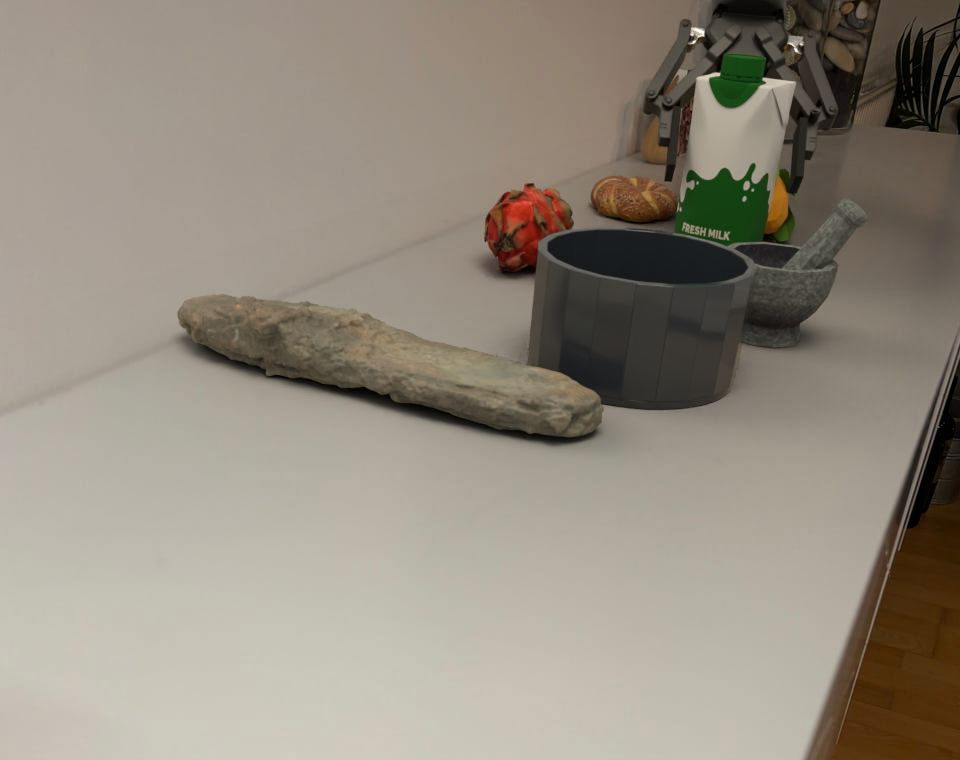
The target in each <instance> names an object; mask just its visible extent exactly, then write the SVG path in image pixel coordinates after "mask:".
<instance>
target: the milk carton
mask: <svg viewBox="0 0 960 760" xmlns="http://www.w3.org/2000/svg"><path fill="white" fill-rule="evenodd" d="M765 64H766V58H765V57H761V56H755V55H747V54H732V53H729V54H724V55H723V60H722V66H721V71H720V73H712V74H709V75H705V76H700V77H697V78H696V87H695V96H694V97H693V104H692V113H691V121H690V127H689V133H688V139H687V146H686V151H685V157H684V158H685V159H684V165H683V171H682V178H681V184H680V191H679V196H678V209H677V211H676V216H675V223H674V230H673V231H674V232H673V233H677V234H683V235H688V236H692V237H696V238H701V239H705V240H709V241H713V242H716V243H719V244H722V245H725V246H729V245H731V244H733V243H745V242H763V239H764V235H765V234H764V232H765V228H766V224H767V220H768V215H769V211H770V206H771V201H772V196H773V191H774V187H775V182H776V177H777V172H778V168H779V167H780V161H781V157H782V152H783V147H784V142H785V135H786V129H787V126H788V124H789V119H790V118H789V117H790V114H789V112H790V108H791V103H792V99H793V94H794V90H795V86H796V82H793V81H785V80H778V79H770V78H763V76H764V70H765Z"/></svg>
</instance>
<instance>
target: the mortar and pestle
mask: <svg viewBox="0 0 960 760" xmlns="http://www.w3.org/2000/svg"><path fill="white" fill-rule="evenodd" d="M867 221H868V216H867V214H866V212H865V211H864V209H863V208H862V207H861V206H860V205H859V204H858V203H856V202H854V201H852V200H851V199H849V198H842V199H841V200H840V201H839V202H838V203H837V204H836V207H835V211H834V212H833V213H832V214H831V215H830V216H829V217H828V218H827V219H826V221H825V222H824V223H823V224H822V225H821V226H820V227H819V228H818V229H817V230H816V232H814V233H813V235H812V236H811V237H809V239H808V240H807V241H806V242H805V243H804V244H803V245H802V246H798V245H792V244H785V243H775V242H768V241H762V242H745V243H733V244H731V245H729V246H727V247H730V248H733V249H736V250H738V251H739V252H741V253H743V254H744V255H746V256H748V257H749V258H751V259H752V260H753V261H754V263H755V265H756V267H757V268H758V270H757V275H756V280H755V285H754V289H753V294H752V299H751V304H750V309H749V314H748V319H747V323H746V328H745V333H744V338H743V343H746V344H748V345H750V346H751V345H752V346H757V347H765V348H773V349H777V348H786V347H787V348H788V347H793V346H794V345H795V344H797V342H799V340H800V335H801V324H802V323H803V322H805V321H806V320H808V319H809V318H810V317H811V316H813V315H814V314H815V313H816V312H817V311H818V310H819V309H820V308H821V306H822V305H823V304H824V302H826V300H827V299H828V298H829V295H830V292H831V290H832V288H833V285H834V283H835V280H836V276H837V274H838V273H837V272H838V269H839V265H840V263H838V262H837V261H836V260H835V259H834V258H835V257H836V256H837V254H838V253H839V252H840V251H841V250H842V248H843V247H844V245H846V243H847V241H849V239H850V238H851V236H852V235H853V234H854V232H855V231H856V230H857V229H859V228H862V227H863V226H865V224H866V223H867Z"/></svg>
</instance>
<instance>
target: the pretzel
mask: <svg viewBox="0 0 960 760" xmlns="http://www.w3.org/2000/svg"><path fill="white" fill-rule="evenodd" d="M590 202H591V204H592V207H594V208H596V209H597V208H598V209H597V211H598V212H599V213H601V214H603V215H604V216H607V217H610V218H617V219H618V218H619V219H622V220H623V221H626V222H635V223H645V222H652V221H654V220H658V221H660V220H663V221H664V220H667V219H669V218H670V217H671V216H672V215H674V214H675V213H677V209H678V202H679V197H678V196H677V194H676V193H675V192H674V191H673V190H670V188H669V187H668V186H667V185H665V184H663V183H660V182H655V181H654V179H651V178H649V177H643V176H634V177H627V176H624V175H615V174H614V175H609V176H604V177H603V178H601V179H600V180H598V181H597V182H595V184H594V186H593V187H592V189H591V191H590Z"/></svg>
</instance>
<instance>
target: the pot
mask: <svg viewBox="0 0 960 760" xmlns="http://www.w3.org/2000/svg"><path fill="white" fill-rule="evenodd" d="M757 270H758V268H757V267H756V265H755V263H754V261H753V260H752V259H751V258H749V257H748V256H746V255H744V254H743V253H741V252H739V251H738V250H736V249H733V248H730V247H727V246H725V245H722V244H719V243H716V242H713V241H709V240H705V239H701V238H696V237H692V236H688V235H683V234H677V233H674V232H670V231H664V230H658V229H647V228H645V229H644V228H635V227H619V226H618V227H613V226H612V227H609V226H608V227H607V226H605V227H602V226H601V227H597V226H595V227H583V228H572V229H571V230H566V231H562V232H558V233H554V234H550V235H548V236H547V237H545V238H544V239H542V240H541V241H539V242H538V252H537V263H536V269H535V275H534V285H533V286H534V287H533V296H532V307H531V317H530V327H529V328H530V330H529V340H528V349H527V350H528V352H527V365H528V366H532V367H540V368H544V369H548V370H551V371H556V372H560V373H562V374H564V375H566V376H568V377H570V378H571V379H572V380H574V381H577V382H578V383H579V384H580V385H582V386H584V387H586V388H588V389H591V390H593V391H595V392H596V393H597V395H599V396H600V398H601V404H602V405H609V406H614V407H622V408H629V409H641V410H642V409H643V410H675V409H678V410H679V409H688V408H694V407H700V406H703V405H709V404H711V403H714V402H716V401H718V400H720V399H723V398H724V397H725V396H726V395H728V394H729V393H730V391H731V390H732V388H733V385H734V381H735V379H736V376H737V372H738V367H739V361H740V358H741V352H742V348H743V343H744V342H743V338H744V333H745V328H746V323H747V319H748V314H749V309H750V304H751V299H752V294H753V289H754V285H755V280H756V275H757Z"/></svg>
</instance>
